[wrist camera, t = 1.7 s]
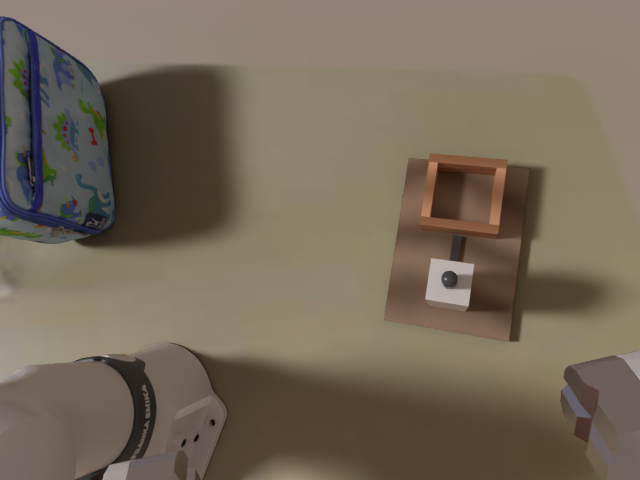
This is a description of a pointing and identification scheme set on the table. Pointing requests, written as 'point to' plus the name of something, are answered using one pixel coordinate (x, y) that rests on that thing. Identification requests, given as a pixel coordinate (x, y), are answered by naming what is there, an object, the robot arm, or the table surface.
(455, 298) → the connector plug
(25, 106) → the lunch box
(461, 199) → the board
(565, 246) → the table surface
